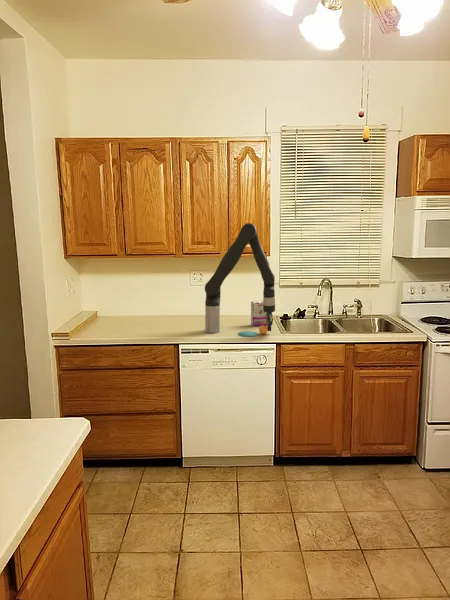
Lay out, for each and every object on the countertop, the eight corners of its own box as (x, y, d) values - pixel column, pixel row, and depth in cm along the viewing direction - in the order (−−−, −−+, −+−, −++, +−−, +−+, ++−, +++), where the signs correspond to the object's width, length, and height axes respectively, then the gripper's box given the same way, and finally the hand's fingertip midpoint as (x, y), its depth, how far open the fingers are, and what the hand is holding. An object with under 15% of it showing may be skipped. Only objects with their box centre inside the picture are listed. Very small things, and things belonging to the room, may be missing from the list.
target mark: (239, 337, 276) (239, 336, 275) (236, 331, 288) (236, 331, 288) (260, 336, 277) (260, 336, 277) (256, 331, 290) (256, 330, 290)
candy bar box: (265, 323, 309) (266, 300, 306) (268, 325, 304) (268, 302, 301) (250, 324, 306) (250, 301, 303) (252, 326, 301) (253, 302, 298)
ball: (268, 335, 281) (259, 335, 280) (266, 332, 286) (258, 332, 286) (268, 327, 280) (260, 327, 279) (267, 324, 285) (258, 324, 284)
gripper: (261, 302, 286) (261, 328, 289) (265, 306, 273) (265, 333, 277) (272, 301, 287) (273, 327, 290) (277, 305, 274) (277, 333, 277)
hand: (269, 330), depth 283 cm, fingers closed
